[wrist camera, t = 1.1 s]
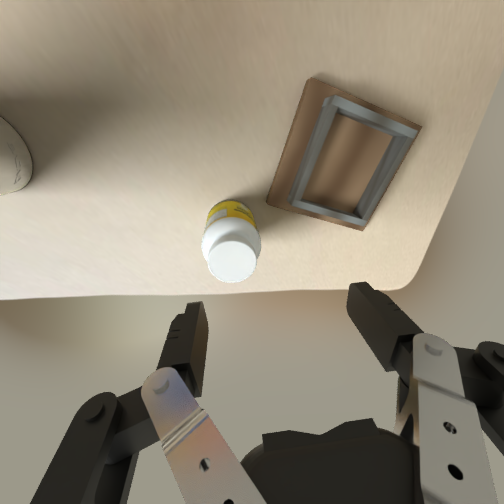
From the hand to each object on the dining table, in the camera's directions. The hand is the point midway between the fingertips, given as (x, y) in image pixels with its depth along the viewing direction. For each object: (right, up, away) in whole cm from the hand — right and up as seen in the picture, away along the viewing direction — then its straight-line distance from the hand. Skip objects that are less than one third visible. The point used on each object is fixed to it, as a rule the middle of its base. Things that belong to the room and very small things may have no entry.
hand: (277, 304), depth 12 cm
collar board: (+10, +14, +17) cm, 24 cm away
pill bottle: (-4, +7, +19) cm, 21 cm away
